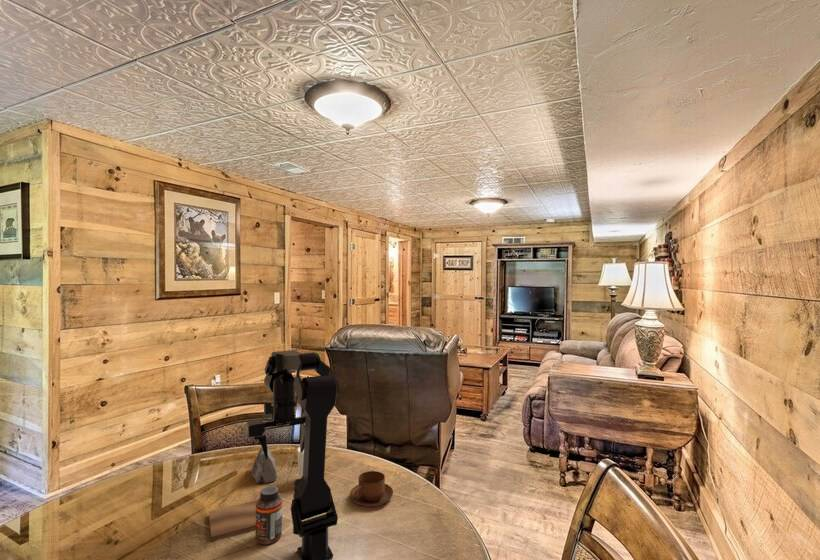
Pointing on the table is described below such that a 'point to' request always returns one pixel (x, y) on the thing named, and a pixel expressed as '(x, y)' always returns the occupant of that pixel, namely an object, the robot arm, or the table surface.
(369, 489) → the cup and saucer
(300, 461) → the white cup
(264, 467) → the mineral rock
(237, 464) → the table surface
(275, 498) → the supplement bottle
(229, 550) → the table surface
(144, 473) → the table surface
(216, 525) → the walnut base
